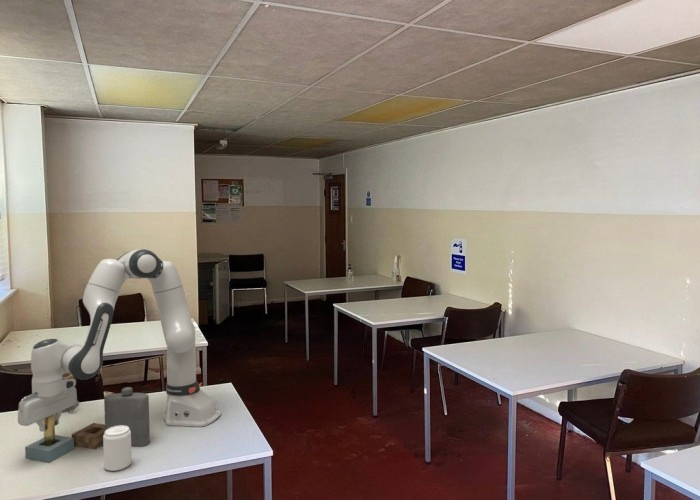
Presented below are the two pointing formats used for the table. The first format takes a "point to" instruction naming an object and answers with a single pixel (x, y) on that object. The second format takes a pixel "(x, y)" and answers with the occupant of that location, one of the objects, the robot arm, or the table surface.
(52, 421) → the brass peg
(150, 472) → the table surface
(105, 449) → the beverage can
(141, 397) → the flask
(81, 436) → the walnut mount
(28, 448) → the slate socket block
